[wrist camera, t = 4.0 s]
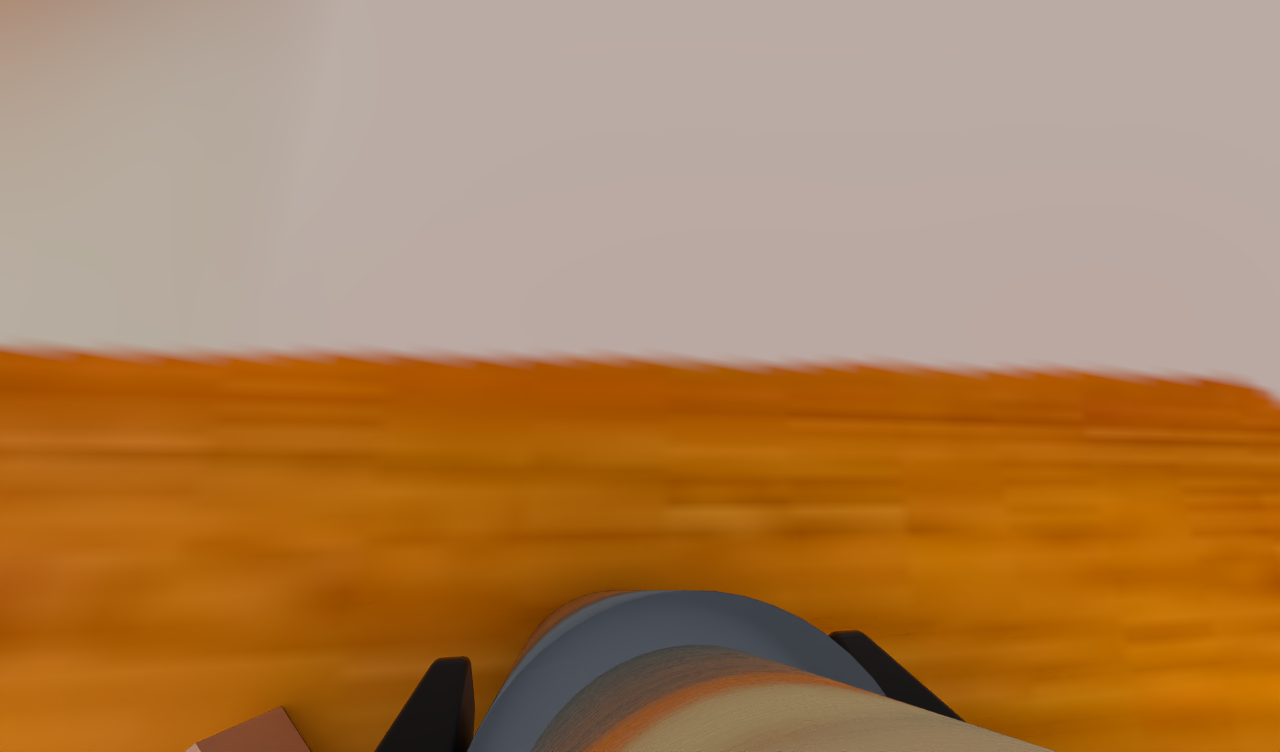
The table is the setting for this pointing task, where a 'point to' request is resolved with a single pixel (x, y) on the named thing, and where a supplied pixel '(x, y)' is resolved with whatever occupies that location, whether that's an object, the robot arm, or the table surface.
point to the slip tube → (703, 685)
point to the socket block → (256, 736)
